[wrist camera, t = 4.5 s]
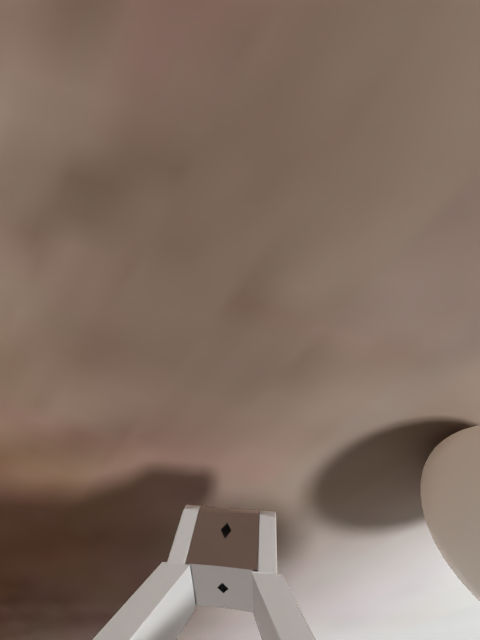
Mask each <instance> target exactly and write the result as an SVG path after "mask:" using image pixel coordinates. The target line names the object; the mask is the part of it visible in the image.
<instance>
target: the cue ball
mask: <svg viewBox="0 0 480 640" xmlns="http://www.w3.org/2000/svg"><path fill="white" fill-rule="evenodd" d="M420 484H421V503H422V509H423V513H424V517H425V520H426V523H427V526H428V528H429V531H430V533H431V535H432V537H433V539H434V542H435V544H436V546H437V547H438V549H439V551H440V552H441V554H442V556H443V558H444V559H445V560H446V562H447V563H448V565H449V566H450V568H451V569H452V570H453V572H454V573H455V574H456V576H457V577H458V578H459V579H460V581H461V582H462V583H463V584H464V585H465V586H466V587H467V588H468V590H469V591H470V592H471V593H472V594H473V595H474V596H475V597H476V598H477V599H478V600H479V601H480V425H479V426H474V427H470V428H466V429H463V430H461V431H458V432H456V433H454V434H452V435H450V436H449V437H447V438H445V439H444V440H443V441H442V442H440V443H439V444H438V445H437V446H436V447H435V448H434V449H433V451H432V452H431V453H430V455H429V457H428V459H427V461H426V463H425V465H424V468H423V472H422V477H421V483H420Z"/></svg>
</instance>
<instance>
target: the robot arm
mask: <svg viewBox="0 0 480 640" xmlns="http://www.w3.org/2000/svg"><path fill="white" fill-rule="evenodd" d="M196 606H208V607H220V608H229V609H235V610H241V611H248V612H253V614H254V617H255V620H256V623H257V626H258V629H259V632H260V635H261V638H262V640H316V639H315V637H314V635H313V633H312V631H311V630H310V628H309V626H308V624H307V622H306V620H305V618H304V616H303V614H302V612H301V610H300V608H299V606H298V604H297V602H296V600H295V598H294V596H293V594H292V592H291V590H290V588H289V586H288V584H287V582H286V580H285V578H284V577H283V575H282V574H278V573H277V538H276V512H275V511H260V510H255V509H237V508H230V509H229V508H218V507H208V506H199V505H186V506H185V508H184V509H183V512H182V515H181V518H180V521H179V525H178V528H177V531H176V534H175V537H174V540H173V544H172V547H171V550H170V553H169V556H168V560H167V562H161V564H160V565H159V566H158V567H157V568H156V569H155V570H154V571H153V572H152V574H151V575H150V576H149V577H148V578H147V579H146V580H145V581H144V583H143V584H142V585H141V586H140V587H139V588H138V589H137V590H136V591H135V593H134V594H133V595H132V596H131V597H130V598H129V599H128V600H127V602H126V603H125V604H124V605H123V606H122V607H121V608H120V609H119V610H118V612H117V613H116V614H115V615H114V616H113V617H112V618H111V619H110V621H109V622H108V623H107V624H106V625H105V626H104V627H103V628H102V629H101V631H100V632H99V633H98V634H97V635H96V636H95V637H94V638H93V640H177V638H178V637H179V635H180V633H181V632H182V630H183V629H184V627H185V625H186V624H187V622H188V621H189V619H190V617H191V616H192V614H193V612H194V611H195V609H196Z"/></svg>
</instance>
